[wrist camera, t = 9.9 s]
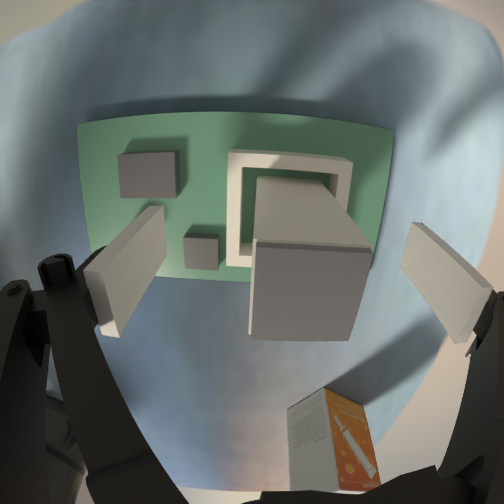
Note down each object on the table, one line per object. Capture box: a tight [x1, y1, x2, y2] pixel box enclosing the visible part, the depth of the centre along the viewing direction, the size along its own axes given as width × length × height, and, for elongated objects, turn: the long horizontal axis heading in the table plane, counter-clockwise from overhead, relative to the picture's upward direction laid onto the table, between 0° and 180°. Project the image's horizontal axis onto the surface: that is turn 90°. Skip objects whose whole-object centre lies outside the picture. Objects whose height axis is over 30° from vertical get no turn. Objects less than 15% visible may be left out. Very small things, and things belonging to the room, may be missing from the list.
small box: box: [286, 387, 381, 494], centre depth 25 cm, size 8×6×13 cm
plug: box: [248, 175, 373, 341], centre depth 14 cm, size 4×4×10 cm
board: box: [77, 112, 394, 282], centre depth 18 cm, size 22×12×4 cm, turn 88°
